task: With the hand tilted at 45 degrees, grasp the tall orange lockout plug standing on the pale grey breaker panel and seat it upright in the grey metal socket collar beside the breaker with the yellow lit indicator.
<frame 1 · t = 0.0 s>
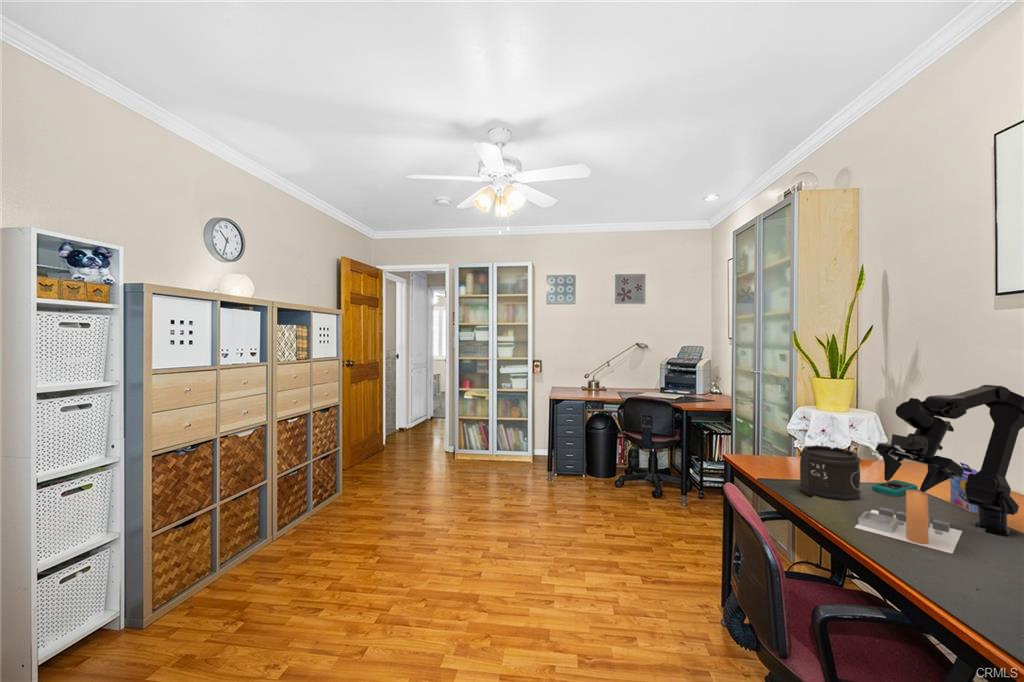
hand: (903, 485, 120), 15 cm above the table, tool tilted 35°, fingers open, 9 cm apart
lockout plug: (917, 540, 118), point 1 cm above the table, touching breaker panel
black drum container: (829, 495, 155), on the table
digital multimeter: (894, 492, 158), on the table
ink cartridge box: (969, 508, 142), on the table
breaker panel: (907, 533, 124), on the table
socket collar: (878, 525, 127), resting on breaker panel
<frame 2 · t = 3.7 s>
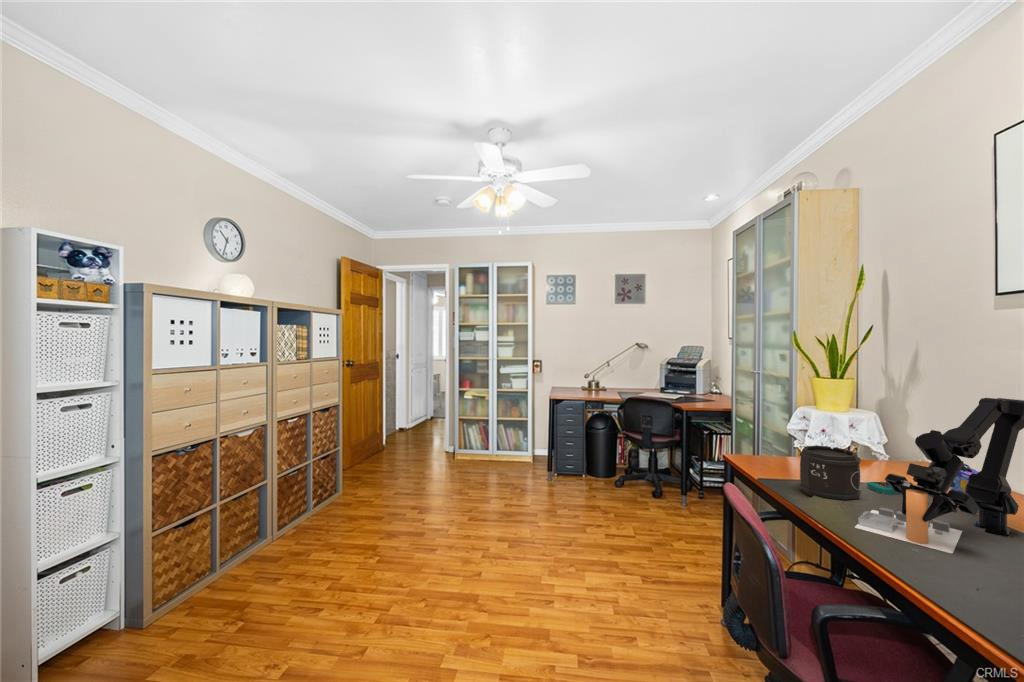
hand: (913, 517, 117), 8 cm above the table, tool tilted 45°, fingers closed on lockout plug, 4 cm apart
lockout plug: (917, 540, 118), point 1 cm above the table, touching breaker panel, gripper
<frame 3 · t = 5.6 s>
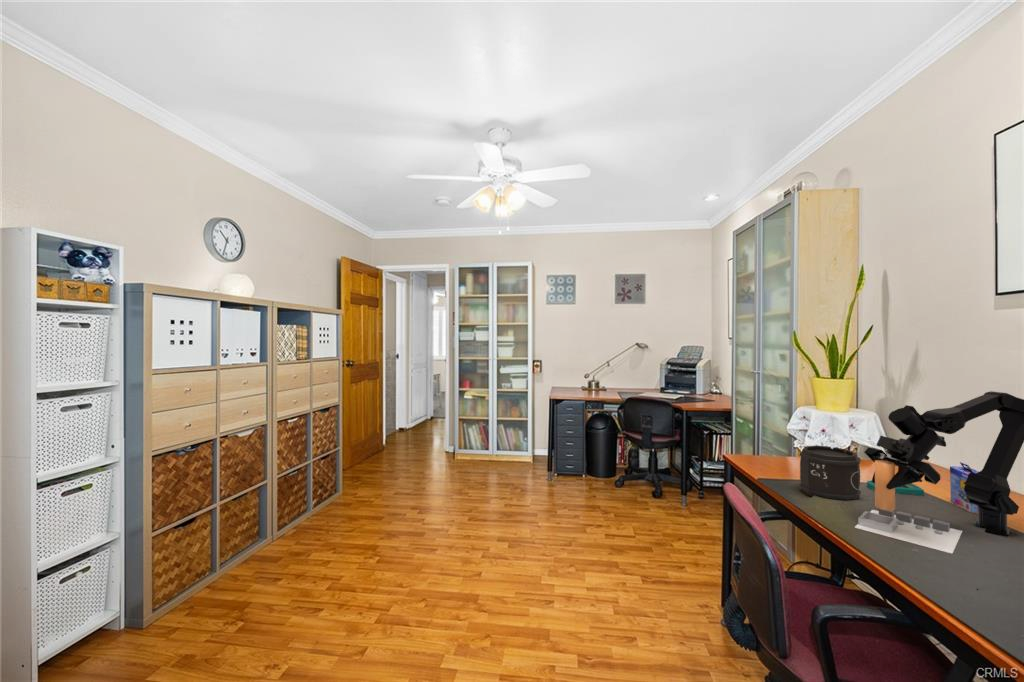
hand: (880, 485, 125), 14 cm above the table, tool tilted 45°, fingers closed on lockout plug, 4 cm apart
lockout plug: (885, 507, 125), point 7 cm above the table, touching gripper
when the fingers open (8 cm above the table, at t = 7.8 s): lockout plug stays where it is, resting on breaker panel.
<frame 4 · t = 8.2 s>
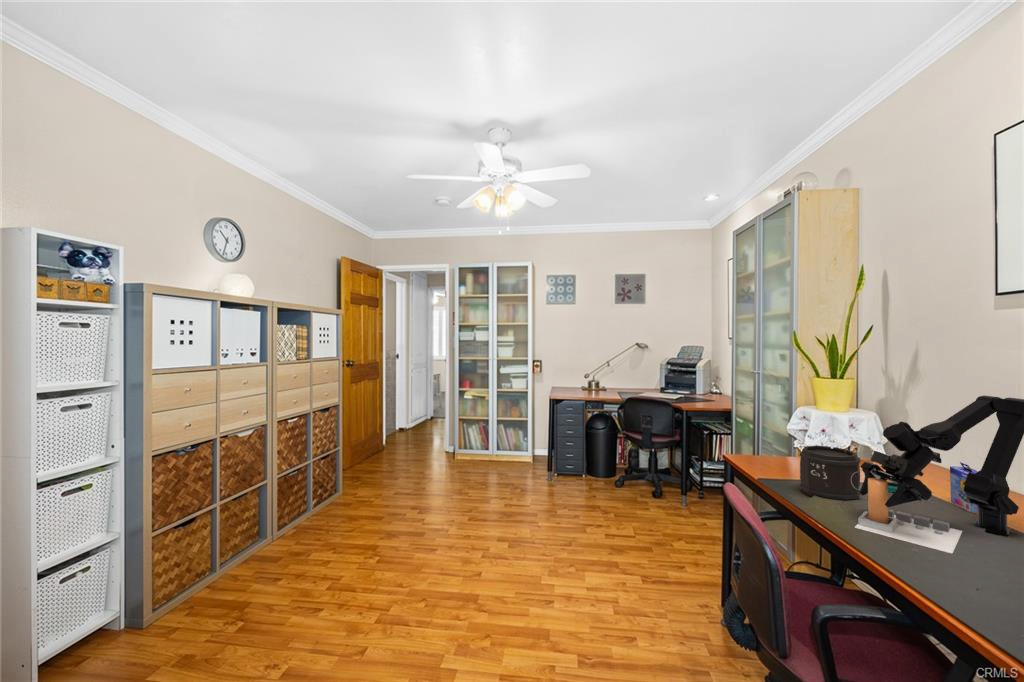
hand: (873, 500, 127), 9 cm above the table, tool tilted 45°, fingers open, 9 cm apart
lockout plug: (878, 525, 127), point 1 cm above the table, touching breaker panel
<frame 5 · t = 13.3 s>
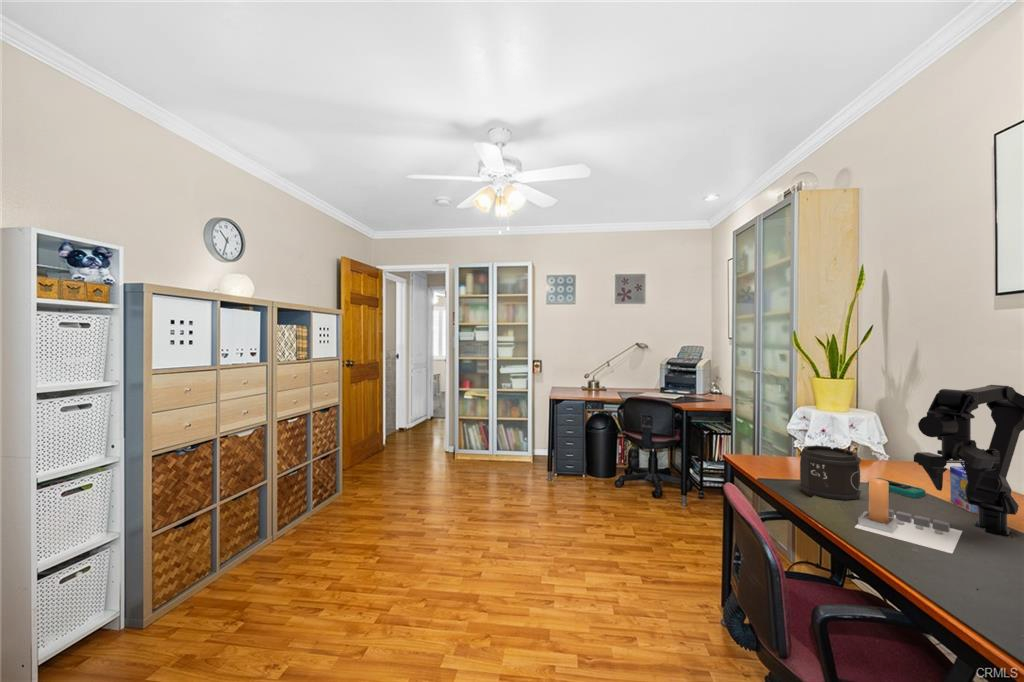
hand: (955, 490, 122), 13 cm above the table, tool pointing down, fingers open, 9 cm apart
at the end: lockout plug 0.0 cm off-centre on the socket collar, point 0.0 cm above the socket collar's base; lockout plug tilted 1°; the gripper is holding nothing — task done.
